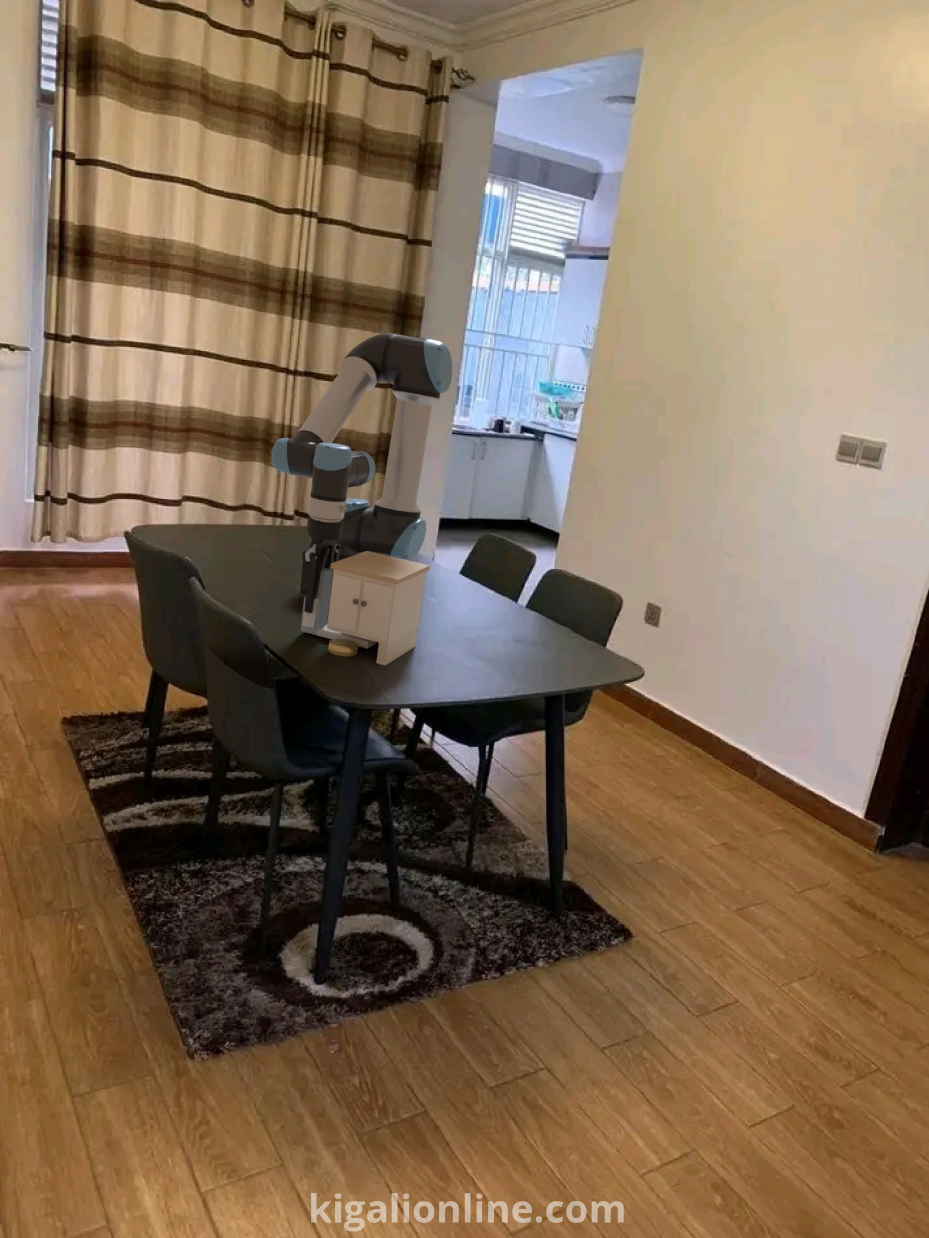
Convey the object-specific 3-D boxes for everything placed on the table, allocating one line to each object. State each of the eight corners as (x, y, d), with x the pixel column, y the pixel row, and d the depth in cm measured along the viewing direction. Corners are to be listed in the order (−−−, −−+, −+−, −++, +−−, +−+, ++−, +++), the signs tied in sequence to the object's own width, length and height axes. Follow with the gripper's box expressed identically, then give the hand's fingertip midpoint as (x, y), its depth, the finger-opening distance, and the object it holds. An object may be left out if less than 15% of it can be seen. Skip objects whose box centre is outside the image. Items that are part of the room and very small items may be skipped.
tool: (300, 630, 202) (307, 568, 198) (309, 626, 205) (316, 565, 201) (367, 648, 197) (375, 584, 193) (375, 644, 201) (383, 581, 197)
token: (323, 652, 193) (324, 643, 193) (336, 645, 199) (337, 636, 198) (348, 659, 192) (350, 650, 191) (361, 652, 197) (362, 643, 197)
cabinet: (318, 650, 194) (328, 564, 188) (357, 630, 210) (367, 550, 205) (384, 668, 189) (396, 580, 184) (418, 646, 206) (429, 565, 201)
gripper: (322, 526, 187) (310, 637, 193) (359, 517, 203) (347, 619, 209) (289, 519, 189) (278, 628, 196) (329, 510, 205) (317, 611, 211)
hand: (314, 623), depth 202 cm, fingers closed on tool, 4 cm apart
